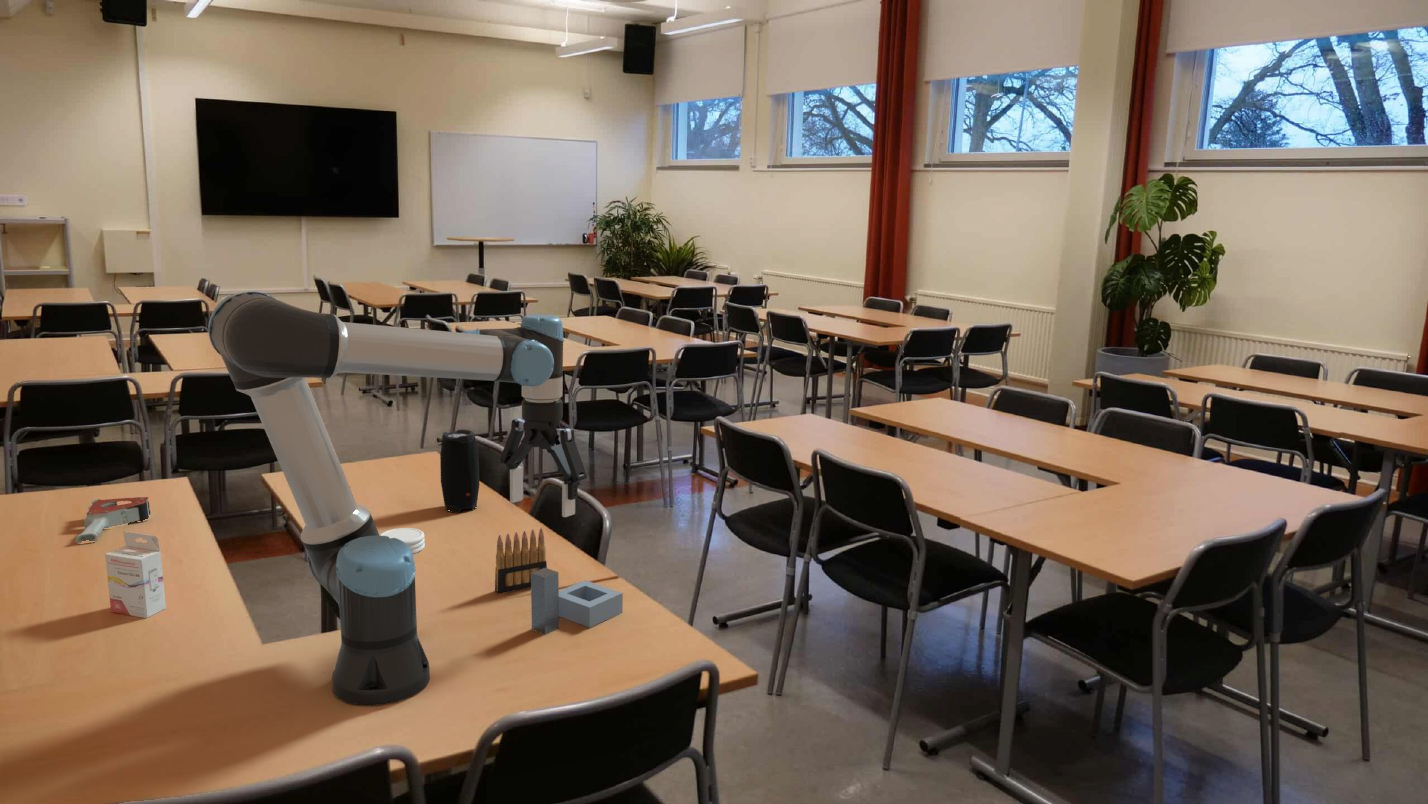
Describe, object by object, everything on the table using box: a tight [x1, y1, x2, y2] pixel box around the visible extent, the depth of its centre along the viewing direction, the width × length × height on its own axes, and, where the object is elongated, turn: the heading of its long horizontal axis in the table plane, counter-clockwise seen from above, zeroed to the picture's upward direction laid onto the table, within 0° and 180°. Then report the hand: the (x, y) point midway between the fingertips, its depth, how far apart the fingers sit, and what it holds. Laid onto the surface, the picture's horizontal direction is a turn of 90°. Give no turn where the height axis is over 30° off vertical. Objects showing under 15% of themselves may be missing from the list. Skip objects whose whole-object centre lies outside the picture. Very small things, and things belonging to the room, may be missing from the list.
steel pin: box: [530, 567, 560, 635], centre depth 184 cm, size 4×4×11 cm
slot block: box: [559, 579, 624, 629], centre depth 192 cm, size 9×10×4 cm
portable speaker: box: [439, 429, 480, 513], centre depth 251 cm, size 9×9×20 cm
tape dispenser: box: [74, 496, 152, 544], centre depth 233 cm, size 18×5×20 cm
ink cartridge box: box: [104, 530, 167, 619], centre depth 187 cm, size 9×5×15 cm, turn 74°
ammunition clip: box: [494, 527, 548, 594], centre depth 203 cm, size 11×2×12 cm, turn 122°
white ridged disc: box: [379, 527, 426, 555], centre depth 224 cm, size 10×10×4 cm
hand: (542, 508), depth 191 cm, fingers open, 13 cm apart
